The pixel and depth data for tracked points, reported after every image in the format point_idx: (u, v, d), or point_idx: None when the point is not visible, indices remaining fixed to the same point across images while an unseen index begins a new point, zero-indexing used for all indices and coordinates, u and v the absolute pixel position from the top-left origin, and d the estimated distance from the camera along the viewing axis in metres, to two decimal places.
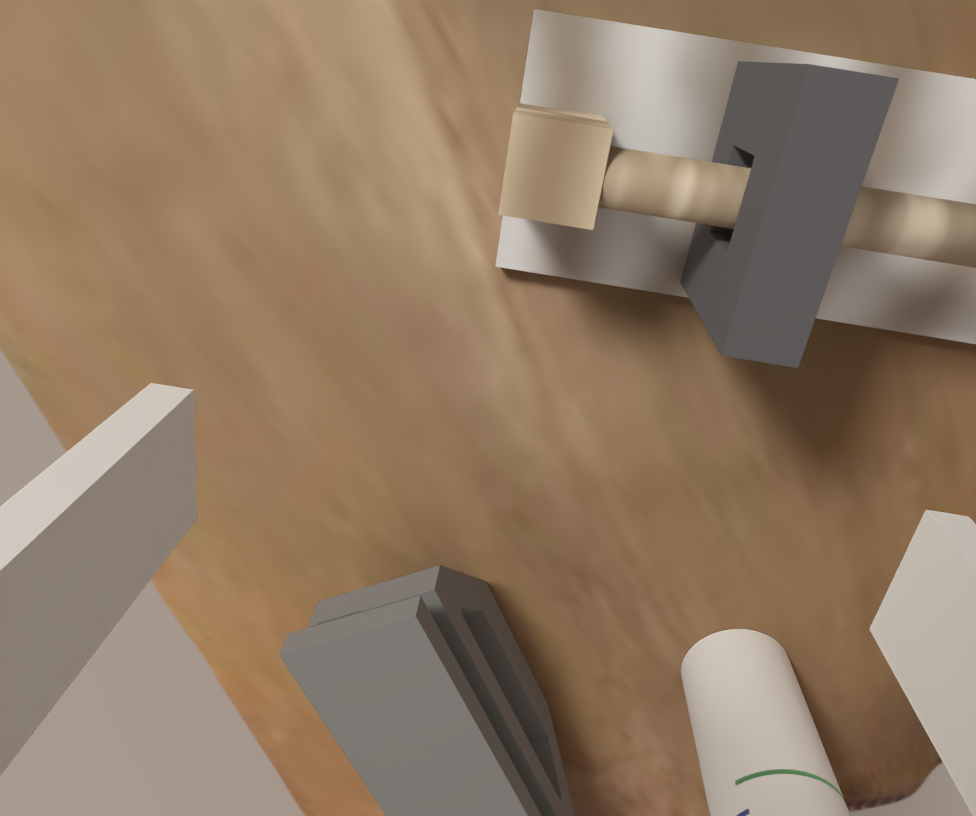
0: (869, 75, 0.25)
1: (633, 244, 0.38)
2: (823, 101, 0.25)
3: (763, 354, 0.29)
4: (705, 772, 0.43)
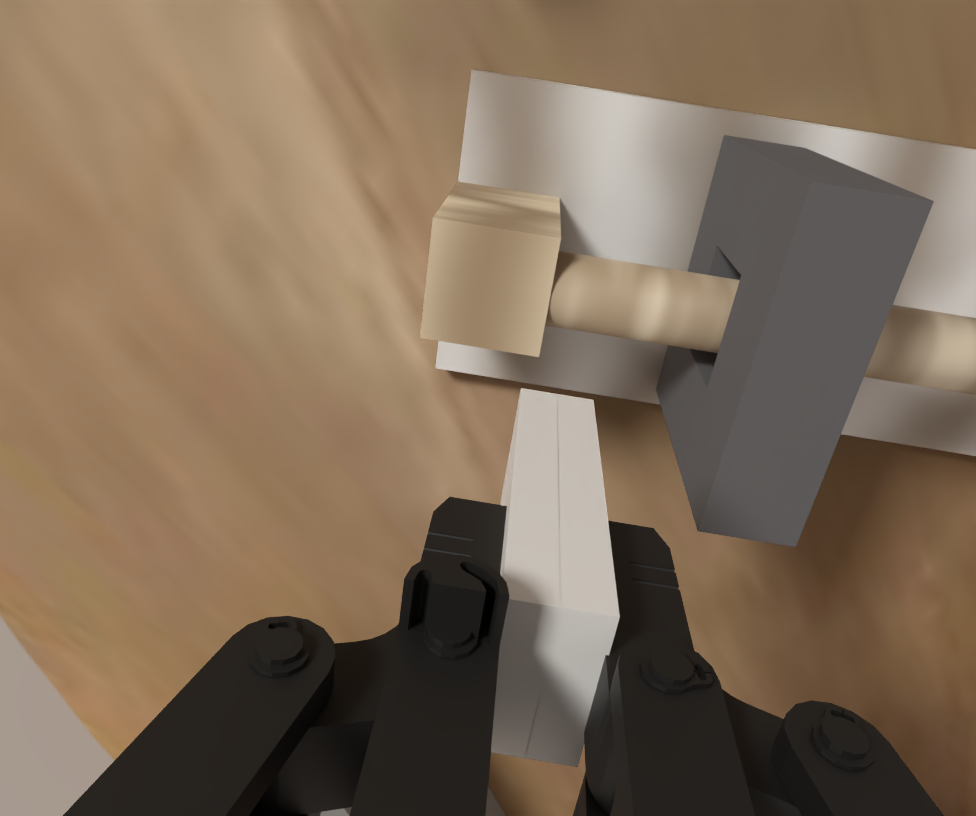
0: (893, 197, 0.18)
1: (599, 345, 0.32)
2: (831, 230, 0.19)
3: (751, 530, 0.23)
4: None
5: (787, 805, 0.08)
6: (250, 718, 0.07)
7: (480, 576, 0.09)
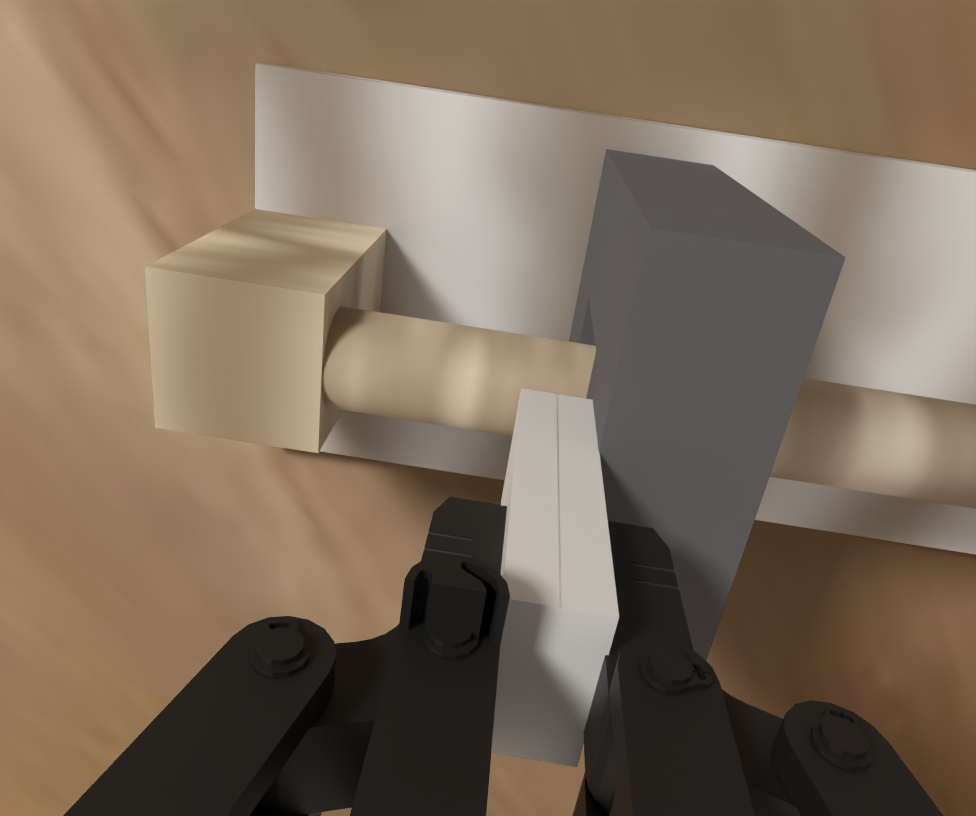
0: (781, 251, 0.11)
1: None
2: (688, 301, 0.12)
3: None
4: None
5: (786, 805, 0.08)
6: (250, 718, 0.07)
7: (480, 576, 0.09)
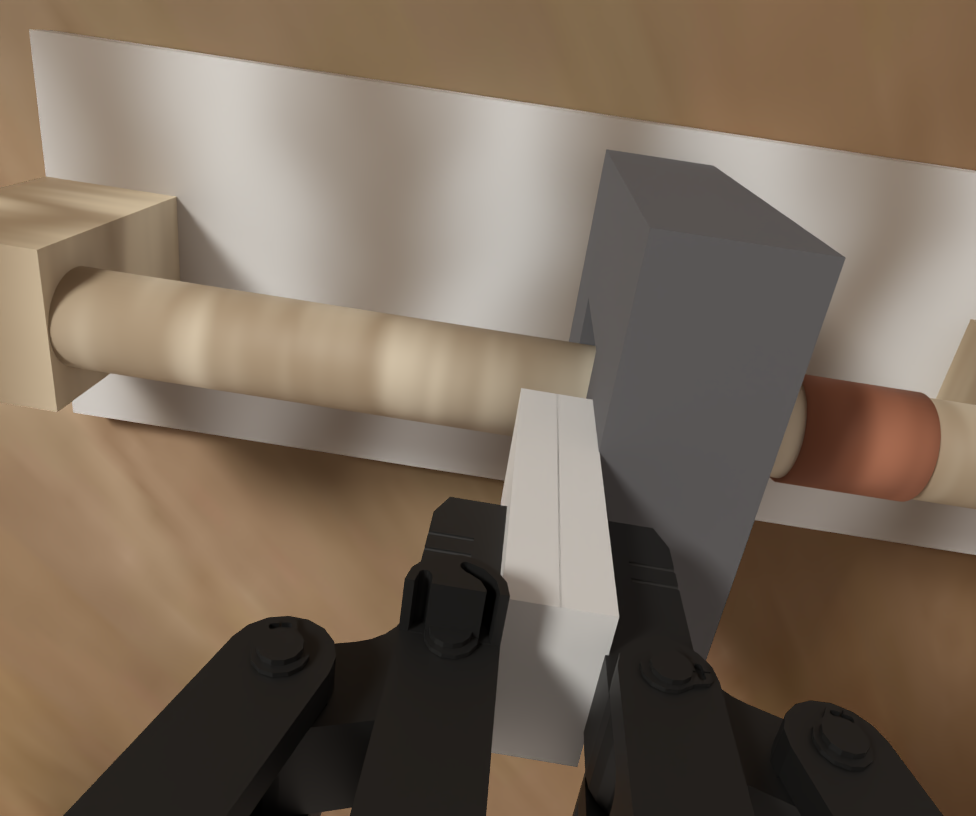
0: (781, 251, 0.11)
1: None
2: (688, 301, 0.12)
3: None
4: None
5: (787, 805, 0.08)
6: (250, 718, 0.07)
7: (480, 576, 0.09)
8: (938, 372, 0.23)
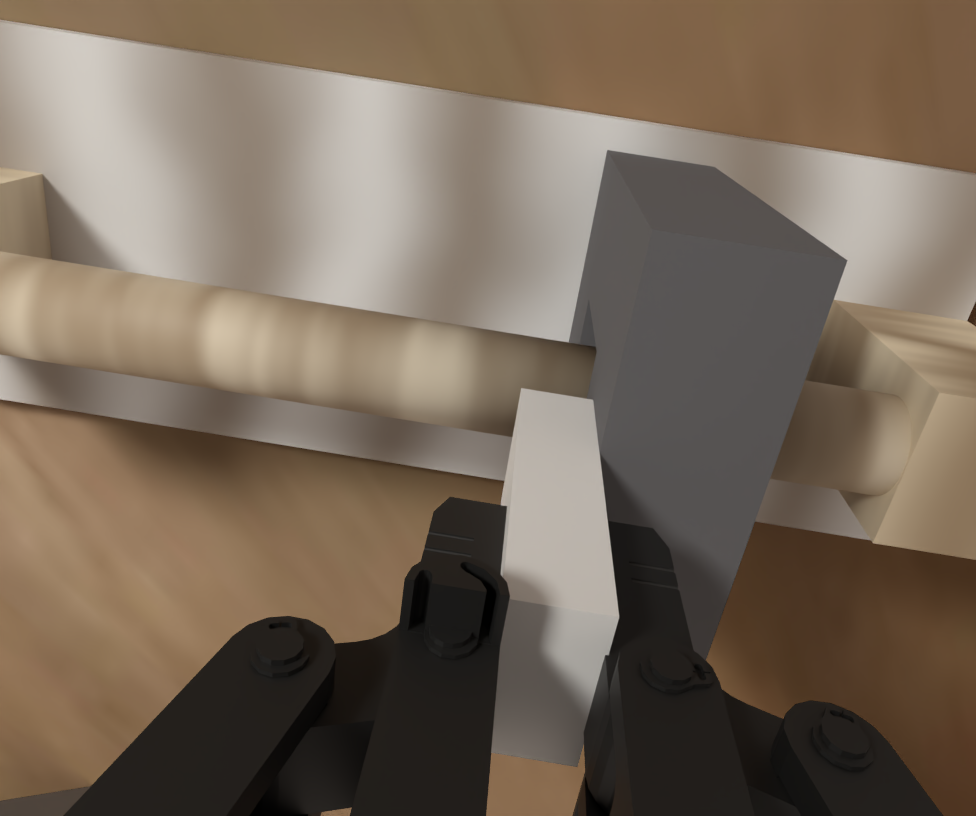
0: (783, 254, 0.11)
1: None
2: (689, 303, 0.12)
3: None
4: None
5: (787, 805, 0.08)
6: (250, 718, 0.07)
7: (480, 576, 0.09)
8: None
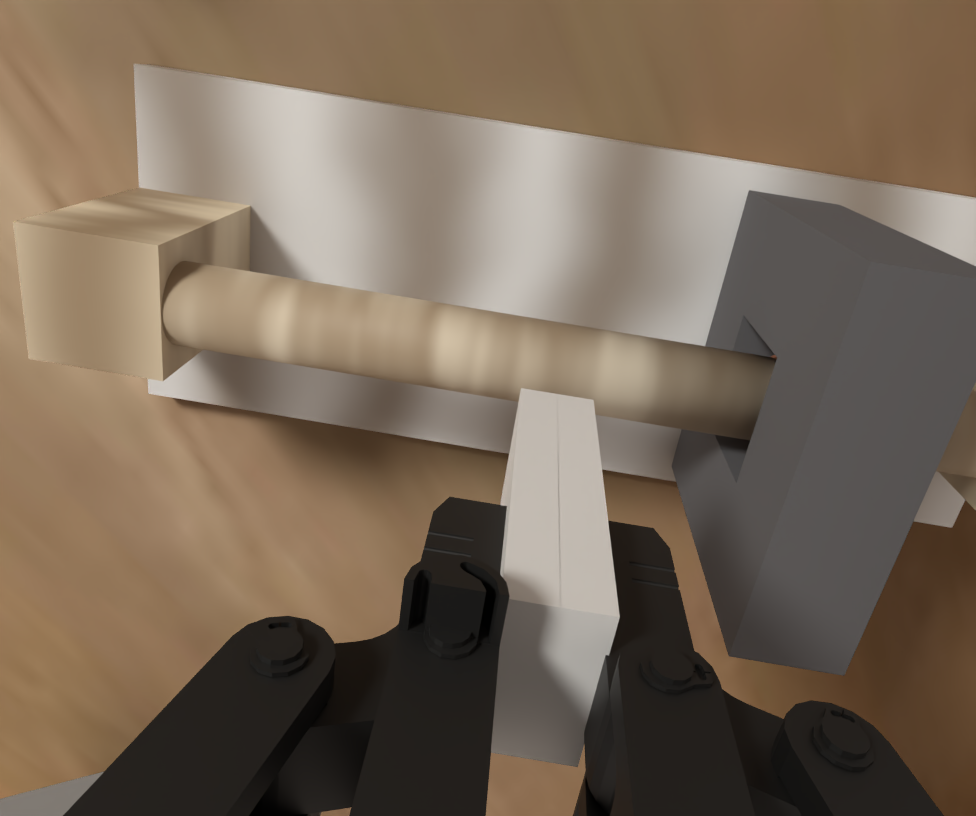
0: (970, 280, 0.15)
1: (319, 368, 0.29)
2: (893, 317, 0.16)
3: (791, 656, 0.19)
4: None
5: (787, 806, 0.08)
6: (250, 718, 0.07)
7: (480, 576, 0.09)
8: None
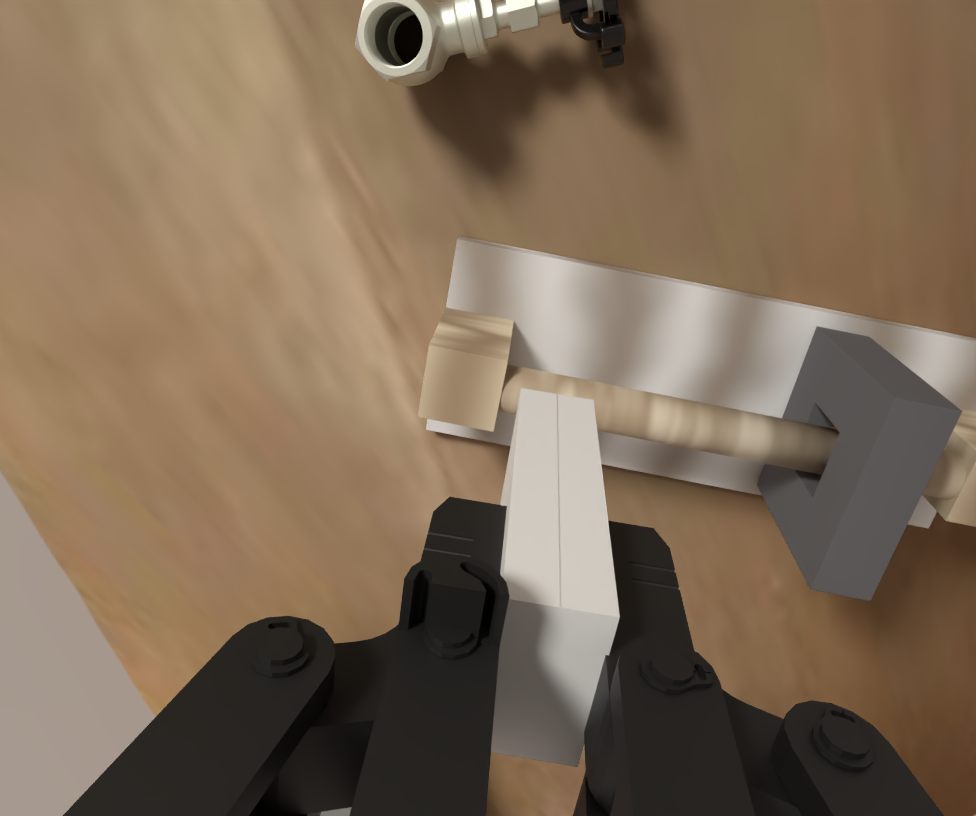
0: (940, 408, 0.33)
1: None
2: (904, 423, 0.33)
3: (843, 590, 0.37)
4: None
5: (787, 805, 0.08)
6: (250, 718, 0.07)
7: (480, 576, 0.09)
8: None
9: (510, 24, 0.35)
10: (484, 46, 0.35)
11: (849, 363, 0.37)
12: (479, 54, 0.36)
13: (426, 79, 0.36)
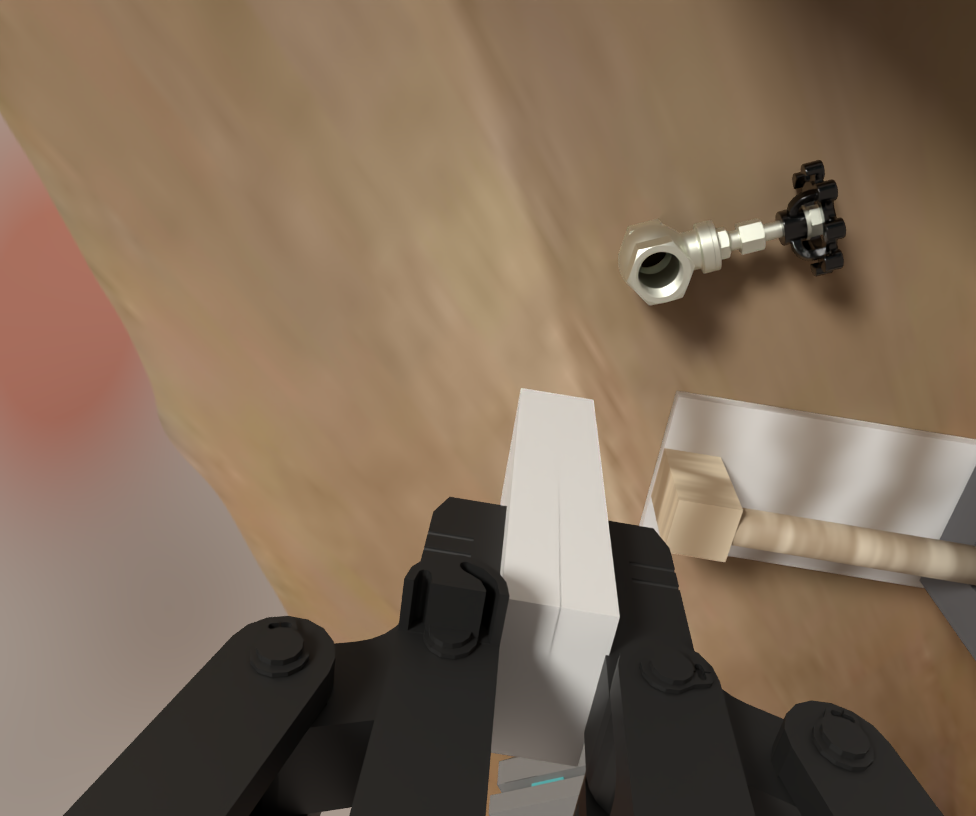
0: None
1: None
2: None
3: None
4: None
5: (787, 806, 0.08)
6: (250, 718, 0.07)
7: (480, 576, 0.09)
8: None
9: (741, 249, 0.44)
10: (720, 267, 0.44)
11: None
12: None
13: None
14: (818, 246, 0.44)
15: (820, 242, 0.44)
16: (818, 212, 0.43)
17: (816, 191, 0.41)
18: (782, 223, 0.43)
